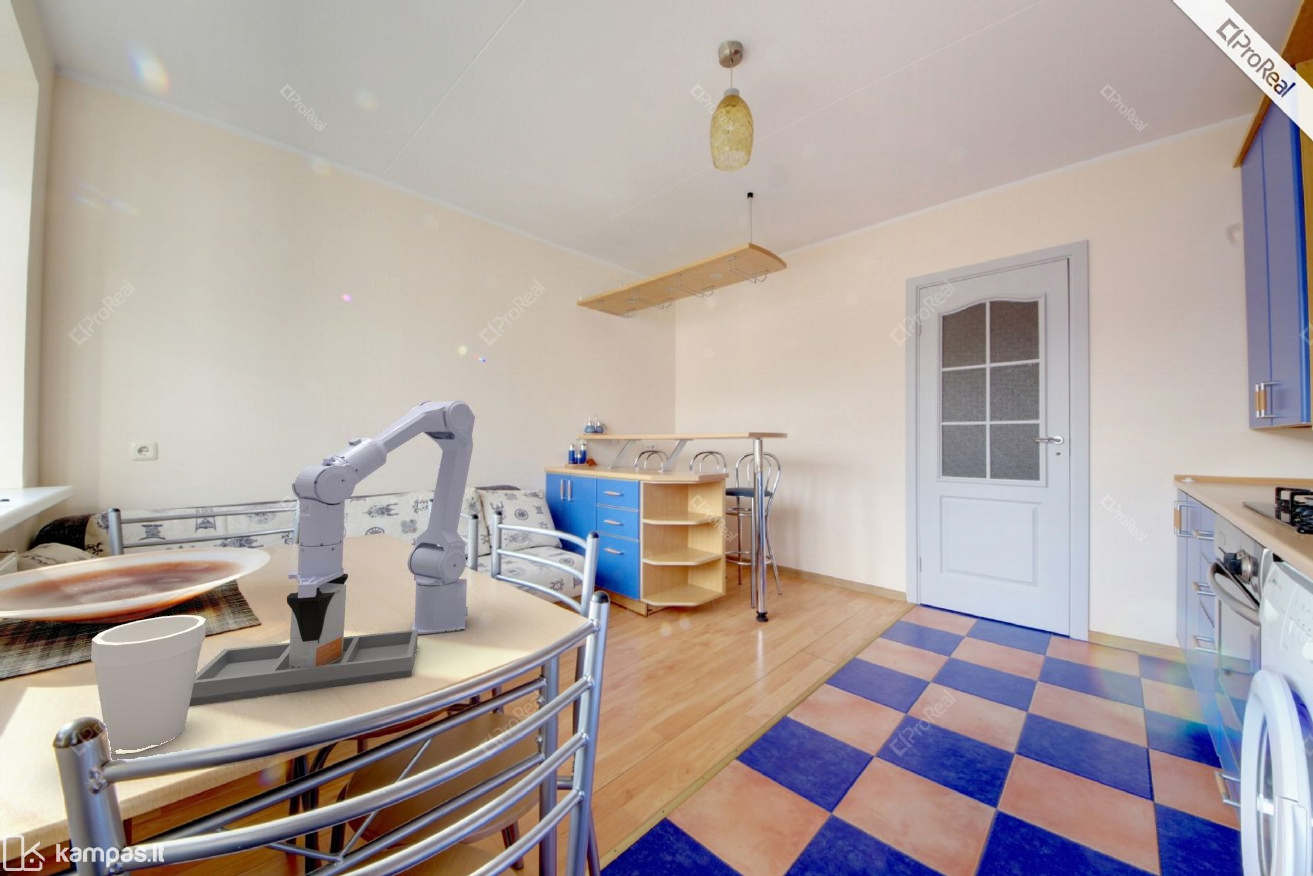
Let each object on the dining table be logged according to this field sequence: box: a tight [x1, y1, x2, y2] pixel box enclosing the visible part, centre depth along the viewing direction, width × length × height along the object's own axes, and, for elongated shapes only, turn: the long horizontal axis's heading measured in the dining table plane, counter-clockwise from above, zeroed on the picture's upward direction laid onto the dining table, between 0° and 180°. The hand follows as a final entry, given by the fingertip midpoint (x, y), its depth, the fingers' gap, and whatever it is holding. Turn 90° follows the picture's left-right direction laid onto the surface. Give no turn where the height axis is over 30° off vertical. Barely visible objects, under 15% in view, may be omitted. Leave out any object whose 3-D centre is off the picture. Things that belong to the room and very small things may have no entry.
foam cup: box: [90, 614, 207, 756], centre depth 59 cm, size 10×9×13 cm
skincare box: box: [289, 583, 347, 669], centre depth 76 cm, size 6×4×12 cm
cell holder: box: [189, 629, 419, 707], centre depth 76 cm, size 27×12×3 cm, turn 112°
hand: (318, 630), depth 76 cm, fingers open, 7 cm apart
